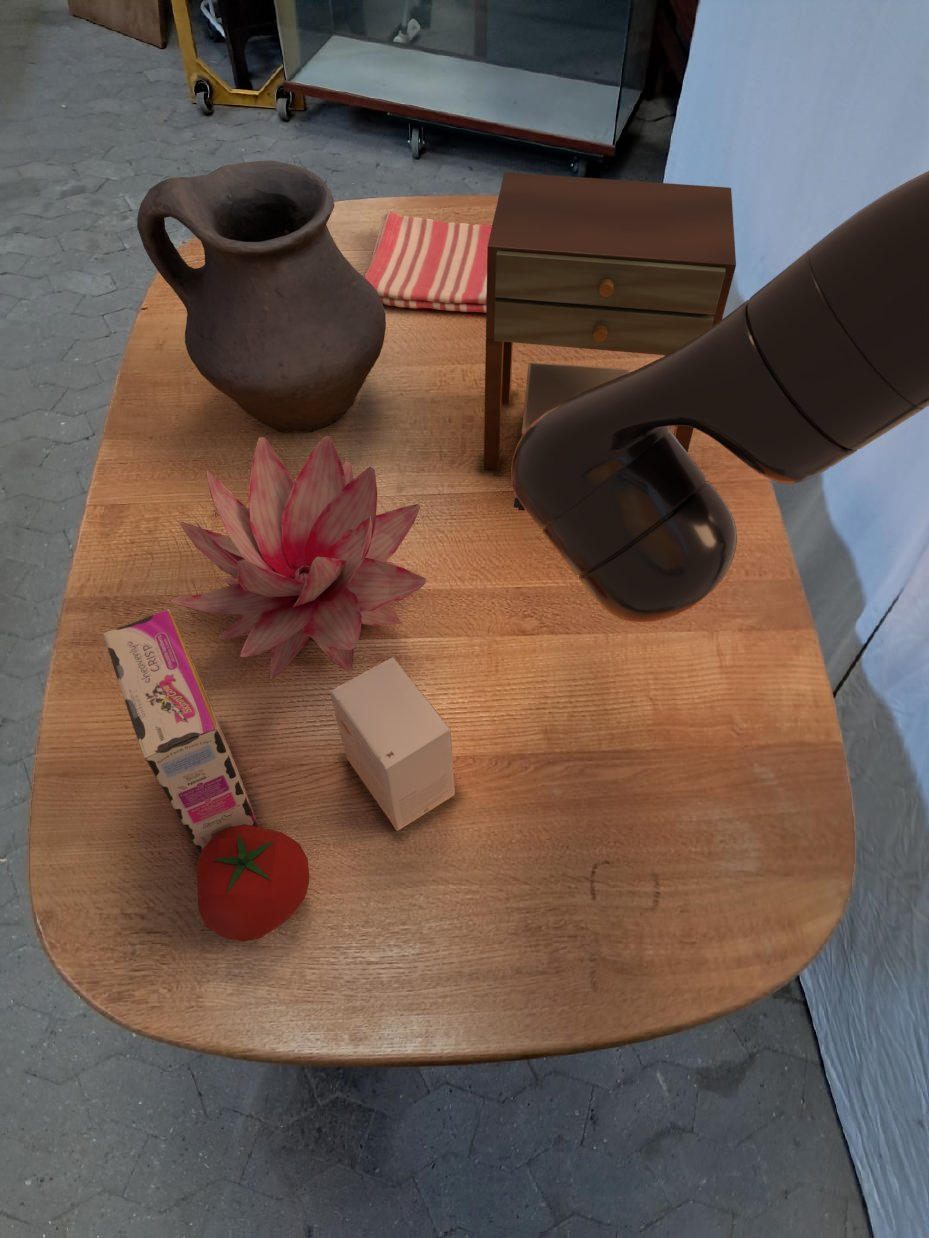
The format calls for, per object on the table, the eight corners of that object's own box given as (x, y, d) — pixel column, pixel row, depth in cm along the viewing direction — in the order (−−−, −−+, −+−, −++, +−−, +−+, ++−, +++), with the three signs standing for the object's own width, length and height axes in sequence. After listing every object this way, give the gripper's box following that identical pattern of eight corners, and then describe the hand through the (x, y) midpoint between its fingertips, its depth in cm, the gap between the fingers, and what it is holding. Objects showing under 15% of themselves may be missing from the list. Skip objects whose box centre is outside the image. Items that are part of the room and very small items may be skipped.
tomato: (215, 847, 70) (192, 806, 64) (319, 845, 70) (305, 804, 64) (198, 953, 65) (172, 920, 59) (310, 951, 65) (294, 918, 59)
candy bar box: (266, 835, 70) (219, 729, 57) (204, 863, 69) (141, 762, 56) (221, 723, 76) (169, 604, 63) (163, 747, 75) (97, 631, 62)
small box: (456, 796, 72) (454, 730, 64) (396, 834, 70) (386, 771, 62) (402, 724, 76) (394, 653, 68) (344, 757, 74) (328, 689, 66)
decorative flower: (192, 726, 76) (140, 619, 64) (197, 537, 89) (154, 418, 76) (445, 691, 78) (441, 581, 66) (414, 511, 90) (406, 391, 78)
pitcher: (394, 464, 94) (373, 242, 74) (183, 475, 94) (105, 253, 74) (390, 342, 107) (372, 123, 87) (204, 351, 106) (142, 131, 86)
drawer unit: (678, 498, 91) (737, 275, 71) (481, 478, 93) (485, 255, 73) (678, 410, 99) (731, 187, 79) (497, 394, 101) (504, 172, 81)
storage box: (620, 489, 92) (630, 437, 87) (518, 482, 93) (521, 430, 87) (621, 421, 98) (630, 368, 93) (525, 414, 99) (528, 362, 93)
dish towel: (383, 232, 121) (381, 207, 118) (558, 243, 119) (560, 218, 116) (359, 309, 111) (356, 283, 108) (550, 322, 109) (552, 296, 106)
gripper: (723, 449, 55) (685, 458, 72) (506, 429, 56) (519, 443, 73) (706, 571, 56) (673, 552, 73) (494, 550, 57) (510, 535, 74)
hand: (596, 497), depth 73 cm, fingers closed
